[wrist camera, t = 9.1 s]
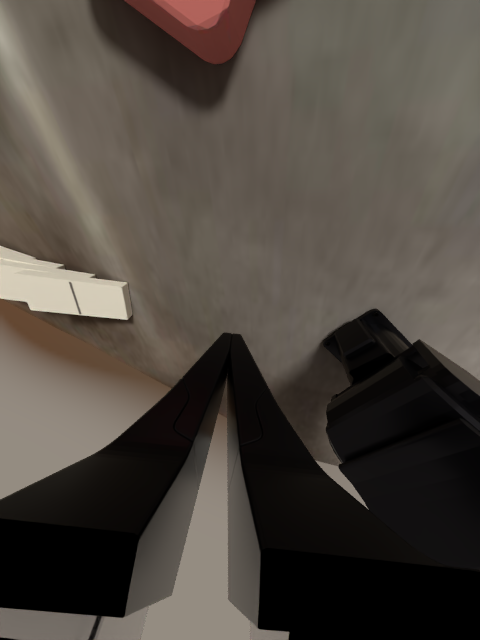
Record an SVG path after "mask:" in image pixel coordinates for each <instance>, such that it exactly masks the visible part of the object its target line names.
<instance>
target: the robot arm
mask: <svg viewBox="0 0 480 640" xmlns="http://www.w3.org/2000/svg"><path fill="white" fill-rule="evenodd" d="M373 313H377V314H376V315H373ZM327 342H329V344H326V343H327ZM323 345H324V347H325V348H327V349H328V350H329V351H330V352H331V353H332V354H333V355H334V356H335V357H336V358H337V359H338V360H339V361H340V362H341V363H342V364H343V366H344V369H345V371H346V374H347V377H348V379H349V382H350V384H351V386H350V387H348V388H347V389H345V390H344V391H342V392H341V393H339V394H336V395H334V396H332V399H331V402H330V403H329V404H328V405H327V411H326V415H327V421H328V423H327V427H326V433H327V435H328V439H329V442H330V444H331V446H332V448H333V451H334V452H335V454H336V455H337V457H338V459H339V460H340V461H341V462H342V464H339V469H340V471H341V472H342V473H343V474H344V475H345V477H346V478H347V479H348V480H349V481H350V482H351V483H352V485H353V486H354V487H355V489H356V490H357V492H358V493H359V495H360V496H361V497H362V499H363V500H364V502H365V504H366V506H367V507H368V509H369V510H368V509H367V508H366V507H365V506H363V505H362V504H361V503H360V502H359V501H357V500H356V499H355V498H354V497H353V496H351V495H350V494H349V493H348V492H347V491H346V490H344V489H343V488H342V487H341V486H340V485H339V484H337V483H336V482H335V481H334V480H333V479H332V478H330V477H329V476H328V475H327V474H326V473H325V472H324V471H323V470H322V468H320V466H319V465H318V464H317V462H316V461H315V460H314V459H313V457H312V456H311V454H310V453H309V451H308V450H307V448H306V447H305V445H304V444H303V442H302V441H301V439H300V438H299V436H298V435H297V433H296V432H295V431H294V429H293V428H292V426H291V425H290V423H289V422H288V420H287V419H286V417H285V415H284V414H283V412H282V411H281V409H280V408H279V406H278V404H277V402H276V401H275V399H274V397H273V395H272V393H271V391H270V389H269V388H268V386H267V384H266V382H265V380H264V378H263V376H262V374H261V372H260V370H259V368H258V366H257V365H256V363H255V361H254V359H253V357H252V355H251V353H250V351H249V349H248V347H247V345H246V343H245V342H244V340H243V338H242V336H241V335H240V334H231V333H223V334H222V335H221V336H220V337H219V338H218V339H217V340H216V341H215V342H214V343H213V345H212V346H211V347H210V348H209V349H208V350H207V351H206V352H205V353H204V354H203V355H202V357H201V358H200V359H199V360H198V361H197V362H196V363H195V364H194V365H193V366H192V367H191V368H190V370H189V371H188V372H187V373H186V374H185V375H184V376H183V377H182V379H180V380H179V381H178V383H177V384H176V385H175V386H174V387H173V388H172V389H171V390H170V391H169V392H168V393H167V394H166V395H165V396H164V397H163V398H162V399H161V400H160V401H158V403H156V404H155V405H154V406H153V407H152V408H151V409H150V410H149V411H147V412H146V413H145V414H144V415H143V416H142V417H141V418H140V419H138V420H137V421H136V422H135V423H134V424H133V425H132V426H130V427H129V428H128V429H127V430H126V431H125V432H124V433H122V434H121V435H120V436H119V437H118V438H117V439H115V440H114V441H113V442H111V443H110V444H109V445H107V446H106V447H104V448H103V449H101V450H100V451H98V452H96V453H95V454H93V455H91V456H89V457H87V458H85V459H83V460H81V461H79V462H76V463H75V464H72V465H70V466H68V467H66V468H64V469H62V470H60V471H58V472H56V473H54V474H52V475H50V476H48V477H46V478H44V479H42V480H40V481H38V482H35V483H33V484H31V485H29V486H27V487H25V488H23V489H21V490H19V491H17V492H15V493H13V494H11V495H9V496H7V497H5V498H3V499H0V640H140V639H141V635H142V631H143V627H144V623H145V619H146V615H147V611H148V607H149V606H150V605H152V604H154V603H156V602H158V601H160V600H162V599H165V598H166V597H169V596H171V595H172V592H173V588H174V584H175V580H176V576H177V572H178V568H179V565H180V561H181V557H182V553H183V549H184V545H185V541H186V537H187V533H188V529H189V525H190V521H191V517H192V513H193V509H194V506H195V502H196V498H197V494H198V490H199V486H200V482H201V478H202V474H203V470H204V466H205V462H206V458H207V454H208V450H209V447H210V443H211V439H212V435H213V431H214V427H215V423H216V419H217V415H218V411H219V407H220V403H221V400H222V396H223V392H224V388H225V384H226V379H227V426H228V427H227V433H228V435H227V441H228V443H227V446H228V599H229V601H230V602H231V603H232V604H233V605H234V606H235V607H236V608H237V609H238V610H239V611H241V612H242V614H244V615H245V616H246V617H247V618H248V619H249V620H250V640H480V381H479V380H478V379H476V378H475V377H474V376H473V375H471V374H470V373H469V372H467V371H466V370H464V369H463V368H461V367H460V366H458V365H457V364H455V363H454V362H452V361H451V360H450V359H448V358H447V357H445V356H444V355H442V354H441V353H439V352H438V351H436V350H435V349H433V348H432V347H430V346H429V345H427V344H426V343H424V342H423V341H421V340H420V339H419V340H417V341H416V342H414V343H413V345H412V344H411V343H410V342H409V341H408V340H407V339H406V338H405V337H404V336H403V335H402V334H401V333H400V332H399V331H398V330H397V329H396V327H395V326H394V325H393V324H392V323H391V322H390V321H389V320H388V319H387V318H386V317H385V316H384V315H383V314H382V313H381V312H380V311H379V310H378V309H372V310H370V311H368V312H367V313H365V314H364V315H362V316H360V317H359V318H357V319H354V320H352V321H351V322H349V323H348V324H346V325H345V326H343V327H342V328H340V329H338V330H337V331H335V333H334V334H332V335H331V336H329V337H328V338H326V339H324V340H323ZM227 374H228V375H227Z"/></svg>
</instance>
